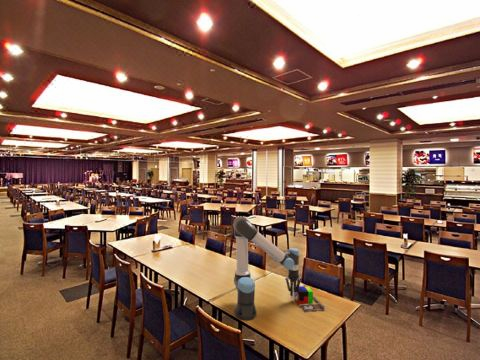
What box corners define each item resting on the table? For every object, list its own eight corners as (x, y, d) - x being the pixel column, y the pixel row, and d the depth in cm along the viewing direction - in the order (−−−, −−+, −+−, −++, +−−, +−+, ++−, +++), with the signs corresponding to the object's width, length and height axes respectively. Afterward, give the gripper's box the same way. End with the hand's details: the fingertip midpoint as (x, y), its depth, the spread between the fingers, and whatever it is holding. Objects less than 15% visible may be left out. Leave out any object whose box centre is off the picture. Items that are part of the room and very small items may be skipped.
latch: (304, 311, 181) (305, 306, 181) (303, 309, 183) (303, 304, 183) (312, 310, 182) (312, 306, 182) (311, 309, 184) (311, 304, 184)
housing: (303, 313, 179) (304, 308, 179) (291, 297, 203) (291, 293, 203) (326, 312, 182) (326, 307, 182) (311, 296, 205) (311, 292, 205)
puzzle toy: (295, 299, 201) (296, 286, 201) (308, 299, 201) (308, 286, 201) (299, 305, 191) (299, 291, 191) (312, 305, 191) (313, 292, 191)
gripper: (287, 271, 190) (286, 302, 190) (303, 270, 192) (302, 301, 192) (283, 267, 197) (283, 298, 197) (299, 267, 200) (298, 297, 200)
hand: (292, 300), depth 195 cm, fingers closed
